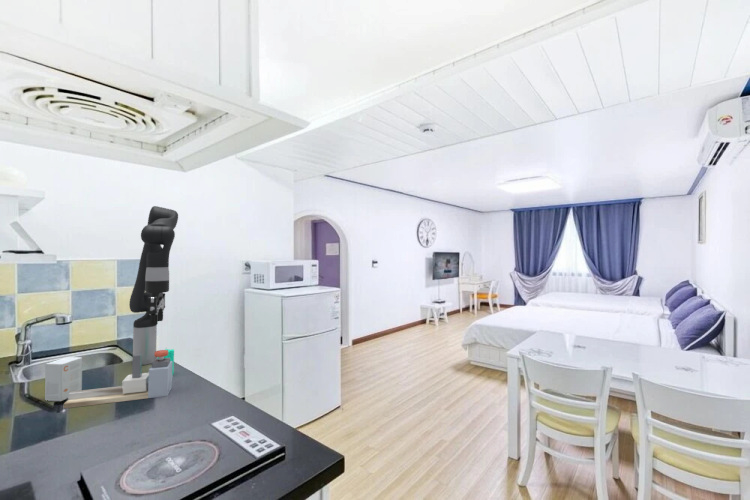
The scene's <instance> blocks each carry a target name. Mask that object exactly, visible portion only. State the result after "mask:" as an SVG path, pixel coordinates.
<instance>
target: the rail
mask: <svg viewBox="0 0 750 500" xmlns="http://www.w3.org/2000/svg"><path fill="white" fill-rule="evenodd" d="M143 399H144V400H145V399H149V398H148V384H147V390H146V391H144V392H135V393H126V394H123V389H122V385H120V386H111V387H102V388H101V387H99V388H92V389H83V390H81V391H72V392H70V393H69V394H68V398H67V400H66V401H65V402H64V403H63V407H62V408H63V409H70V408H79V407H86V406H94V405H95V406H96V405H104V404H112V403H120V402H129V401H136V400H143Z"/></svg>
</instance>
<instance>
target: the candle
mask: <svg viewBox="0 0 750 500" xmlns="http://www.w3.org/2000/svg"><path fill="white" fill-rule="evenodd" d="M164 350H168V355H167V356H164V358H170V361H172V376H174V375H175V374H174V373H175V372H174V371H175V370H174V369H175V366H174V365H175V349H174V348H173V349H167V348H165V349H164ZM156 359H159V357H156Z"/></svg>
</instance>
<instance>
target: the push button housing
mask: <svg viewBox="0 0 750 500" xmlns="http://www.w3.org/2000/svg"><path fill="white" fill-rule="evenodd" d="M148 373H149V380H148V398H147V399H152V398H153V399H154V398H162V397H167V396H168V395H169V393H170V392H171V390H172V388H173V375H172V361H170V358H164V361H159V359H157V358H156V359H154V361H153V362H152V363H151V367H150V368H149V369H148Z"/></svg>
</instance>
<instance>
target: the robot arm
mask: <svg viewBox="0 0 750 500" xmlns="http://www.w3.org/2000/svg"><path fill="white" fill-rule="evenodd" d="M178 220H179V213H178V211H176V210H174V209H171V208H165V207H162V206H158V205H157V206H156V205H153V206H152V207H151V209H150V211H149V214H148V219H147V225H145V226H143V228H142V230H141V231H140V239H141V241H142V242H143V243H144V244H143V247H142V251H141V254H140V259H139V265H138V271H137V275H136V278H135V283H134V286H133V289H132V290H131V291H132V292H131V295H130V299H129V310H130V311H131V312H132V313H134V314H135V313H137V314H138V313H145V314H143V316H141V317H139V318H137V319H136V320H134V321H133V327H132V328H133V332H132V333H133V334H132V337H133V338H132V356H133V355H134V354H142V366H143V365H150V364H152V362H153V361H154V359H157V357H155V356H154V352H155V351H157V335H158V332H157V331H158V330H157V329H158V328H157V327H158V326H157V325H158V323H159V322H162V321H163V320H164V311H165V308H166V293H168V292H169V291H170V264H169V263H170V262H169V261H170V252H171V248H172V245H173V242H174V240H175V238H176V237H175V235H176V232H175V229H176V227H177V224H178ZM162 246H163V247H162Z"/></svg>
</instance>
